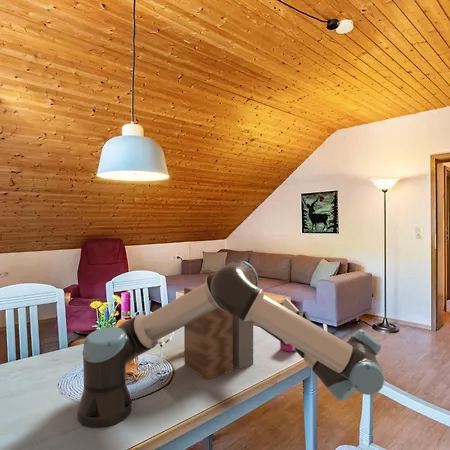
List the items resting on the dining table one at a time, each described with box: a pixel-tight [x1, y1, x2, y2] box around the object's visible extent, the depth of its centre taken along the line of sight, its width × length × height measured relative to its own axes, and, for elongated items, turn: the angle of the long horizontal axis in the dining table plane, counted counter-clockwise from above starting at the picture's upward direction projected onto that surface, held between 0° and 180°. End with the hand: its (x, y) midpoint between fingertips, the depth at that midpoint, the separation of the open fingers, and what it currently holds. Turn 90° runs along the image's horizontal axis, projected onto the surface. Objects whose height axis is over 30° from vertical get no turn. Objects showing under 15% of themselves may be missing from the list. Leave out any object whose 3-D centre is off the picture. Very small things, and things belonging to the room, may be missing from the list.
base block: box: [233, 315, 254, 369], centre depth 140 cm, size 7×12×20 cm, turn 36°
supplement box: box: [279, 341, 297, 354], centre depth 152 cm, size 6×6×12 cm
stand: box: [183, 285, 234, 380], centre depth 133 cm, size 12×15×30 cm
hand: (270, 303), depth 122 cm, fingers open, 13 cm apart
